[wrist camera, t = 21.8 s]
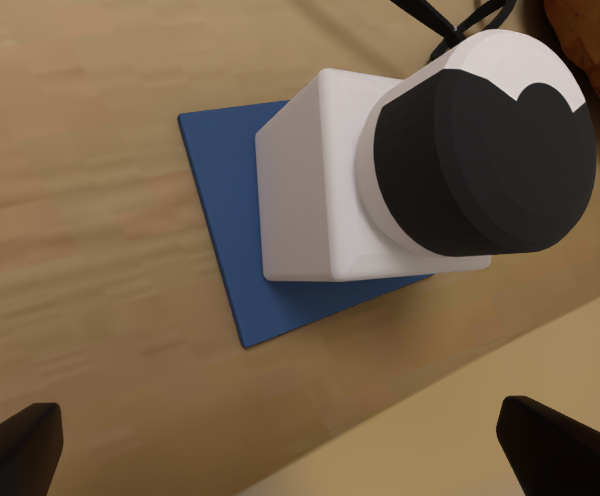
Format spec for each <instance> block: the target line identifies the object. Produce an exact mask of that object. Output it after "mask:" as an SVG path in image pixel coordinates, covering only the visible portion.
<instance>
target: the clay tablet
mask: <svg viewBox="0 0 600 496" xmlns="http://www.w3.org/2000/svg"><path fill="white" fill-rule="evenodd" d="M544 6H545V12H546V14H547V16H548V19H549V21H550V23H551V25H552V27H553V28H554V30H555V32H556V35H557V37H558V39H559V41H560V43H561V48H562V50H563V52H564V54H565V55H566V57H567V58H568V59H569V60H570V61H572V62H573V63H575V64H576V65H577V66H578V67H580V68H581V69H583V70H584V71H585V72H586V73H587V76H588V78H589V82H590V83H591V85H592V87H593V89H594V90H595V92H596V93H597V95H598V96H599V98H600V0H544Z"/></svg>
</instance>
